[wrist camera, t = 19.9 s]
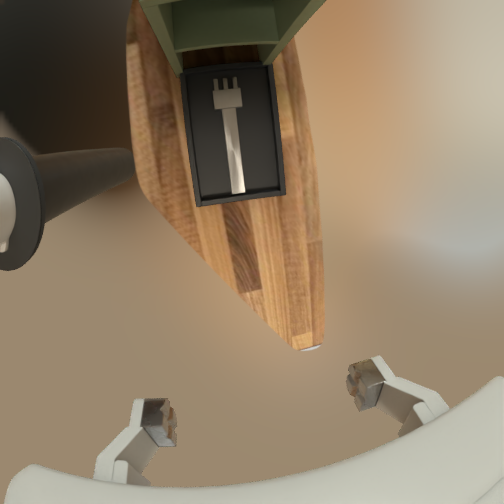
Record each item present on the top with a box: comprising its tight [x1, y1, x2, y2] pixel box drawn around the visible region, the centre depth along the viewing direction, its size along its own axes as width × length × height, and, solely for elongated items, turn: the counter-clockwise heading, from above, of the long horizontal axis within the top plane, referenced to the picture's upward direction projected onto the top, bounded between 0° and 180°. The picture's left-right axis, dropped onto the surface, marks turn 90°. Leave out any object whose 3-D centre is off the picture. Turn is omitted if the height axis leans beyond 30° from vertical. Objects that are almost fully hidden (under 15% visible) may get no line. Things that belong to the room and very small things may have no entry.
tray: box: [180, 61, 286, 207], centre depth 38 cm, size 14×21×2 cm, turn 6°
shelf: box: [139, 0, 326, 78], centre depth 21 cm, size 14×12×25 cm
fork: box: [213, 77, 245, 194], centre depth 38 cm, size 18×4×1 cm, turn 6°
